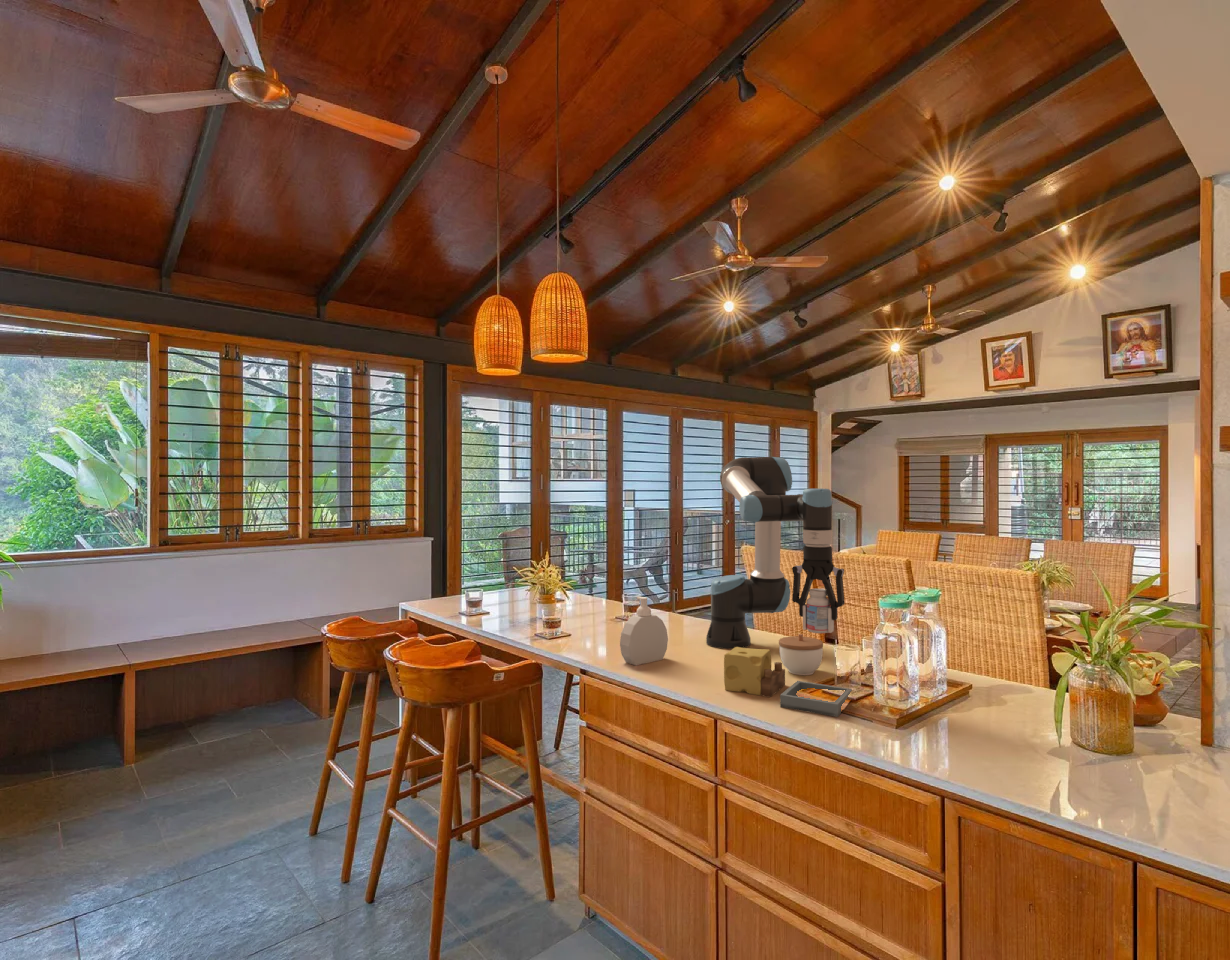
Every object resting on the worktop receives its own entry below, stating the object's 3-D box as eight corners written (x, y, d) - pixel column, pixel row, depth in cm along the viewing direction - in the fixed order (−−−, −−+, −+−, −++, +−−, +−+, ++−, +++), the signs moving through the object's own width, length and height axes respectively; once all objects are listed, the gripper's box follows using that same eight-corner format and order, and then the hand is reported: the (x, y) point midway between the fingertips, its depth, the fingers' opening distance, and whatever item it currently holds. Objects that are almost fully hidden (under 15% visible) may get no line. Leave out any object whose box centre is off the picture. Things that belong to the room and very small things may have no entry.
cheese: (761, 696, 175) (760, 658, 175) (722, 690, 181) (721, 653, 181) (772, 685, 185) (771, 649, 185) (734, 680, 190) (734, 645, 190)
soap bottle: (657, 655, 218) (657, 594, 218) (668, 658, 214) (668, 596, 214) (618, 663, 208) (618, 599, 208) (629, 667, 204) (628, 601, 204)
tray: (797, 691, 178) (797, 680, 178) (851, 700, 171) (851, 688, 171) (780, 706, 167) (780, 694, 167) (837, 717, 159) (837, 704, 159)
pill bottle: (803, 628, 185) (803, 588, 184) (824, 628, 185) (824, 587, 185) (811, 634, 178) (811, 592, 178) (833, 633, 179) (833, 591, 179)
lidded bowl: (785, 664, 206) (785, 628, 206) (827, 669, 199) (827, 632, 200) (773, 674, 195) (773, 636, 195) (817, 680, 189) (817, 641, 189)
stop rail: (776, 683, 186) (776, 660, 186) (785, 685, 184) (784, 661, 184) (761, 695, 176) (760, 671, 176) (770, 697, 174) (769, 672, 174)
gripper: (778, 544, 183) (779, 628, 184) (850, 548, 173) (851, 637, 173) (787, 542, 190) (788, 623, 190) (857, 545, 179) (857, 631, 180)
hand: (818, 630), depth 182 cm, fingers closed on pill bottle, 6 cm apart
